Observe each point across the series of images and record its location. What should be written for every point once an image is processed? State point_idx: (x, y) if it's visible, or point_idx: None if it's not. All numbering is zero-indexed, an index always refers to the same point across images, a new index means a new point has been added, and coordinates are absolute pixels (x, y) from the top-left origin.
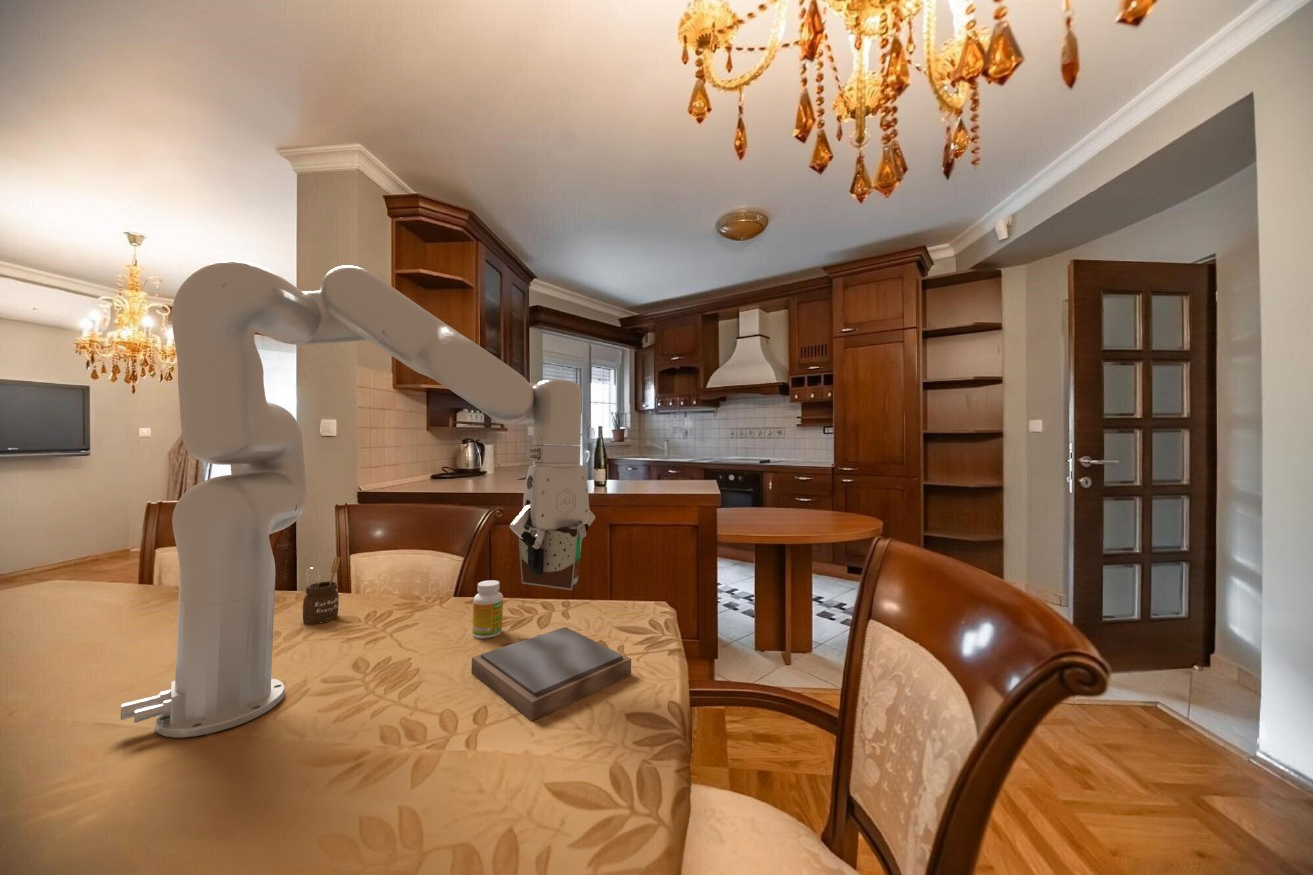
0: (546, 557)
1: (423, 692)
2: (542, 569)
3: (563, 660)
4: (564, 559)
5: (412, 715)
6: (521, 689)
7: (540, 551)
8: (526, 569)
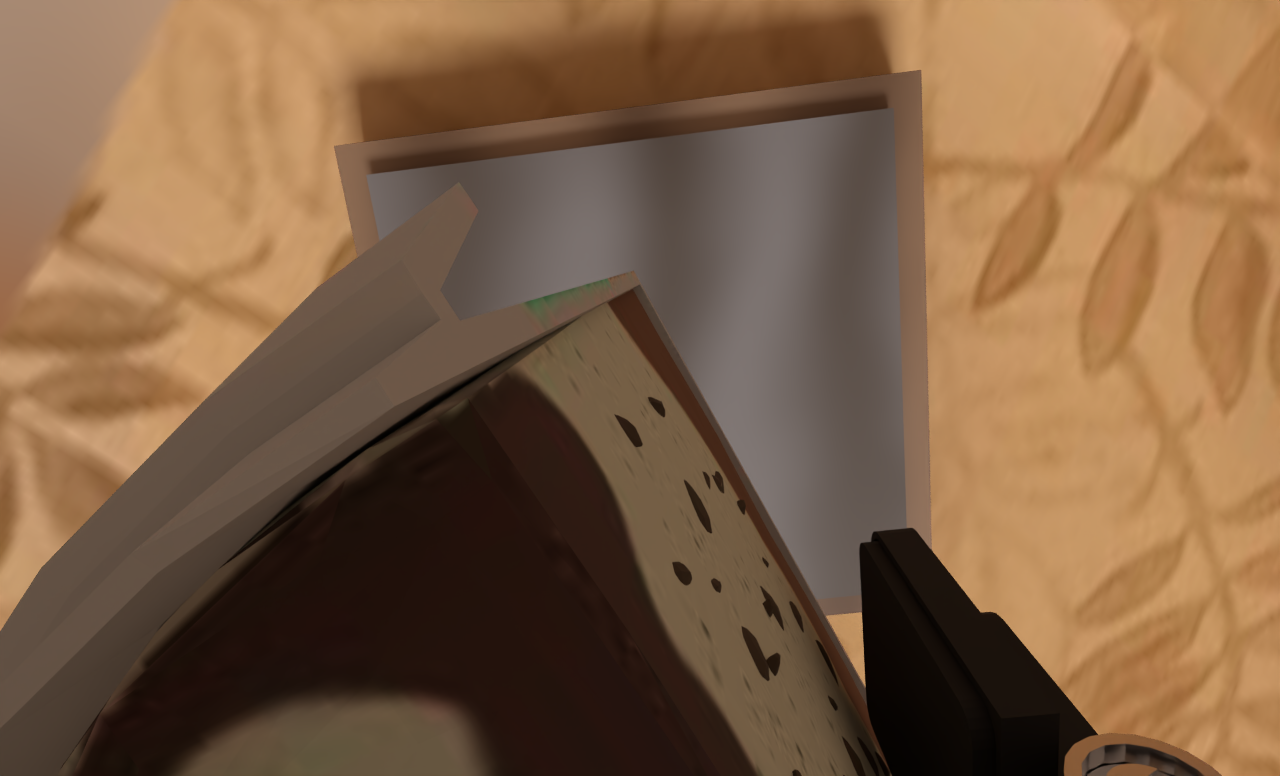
0: (824, 687)
1: (1103, 535)
2: (888, 548)
3: None
4: (688, 449)
5: (1196, 402)
6: (903, 203)
7: (1034, 682)
8: None
